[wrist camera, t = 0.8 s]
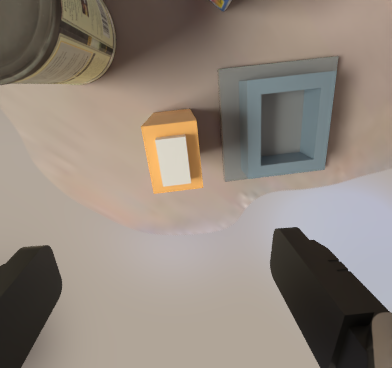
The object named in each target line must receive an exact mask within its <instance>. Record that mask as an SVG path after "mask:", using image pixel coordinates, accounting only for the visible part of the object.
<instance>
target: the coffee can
mask: <svg viewBox="0 0 392 368" xmlns="http://www.w3.org/2000/svg"><path fill="white" fill-rule="evenodd" d="M115 49H116V34H115V28H114V24H113V21H112V18H111V15H110V13H109V11H108V9H107V7H106V5H105V4H104V2H103V1H102V0H0V85H4V84H70V85H82V84H87V83H91V82H93V81H95V80H96V79H98V78H99V77H101V76H102V75H103V74H104V73H105V72H106V71H107V69H108V68H109V66H110V65H111V63H112V60H113V58H114V54H115Z"/></svg>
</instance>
